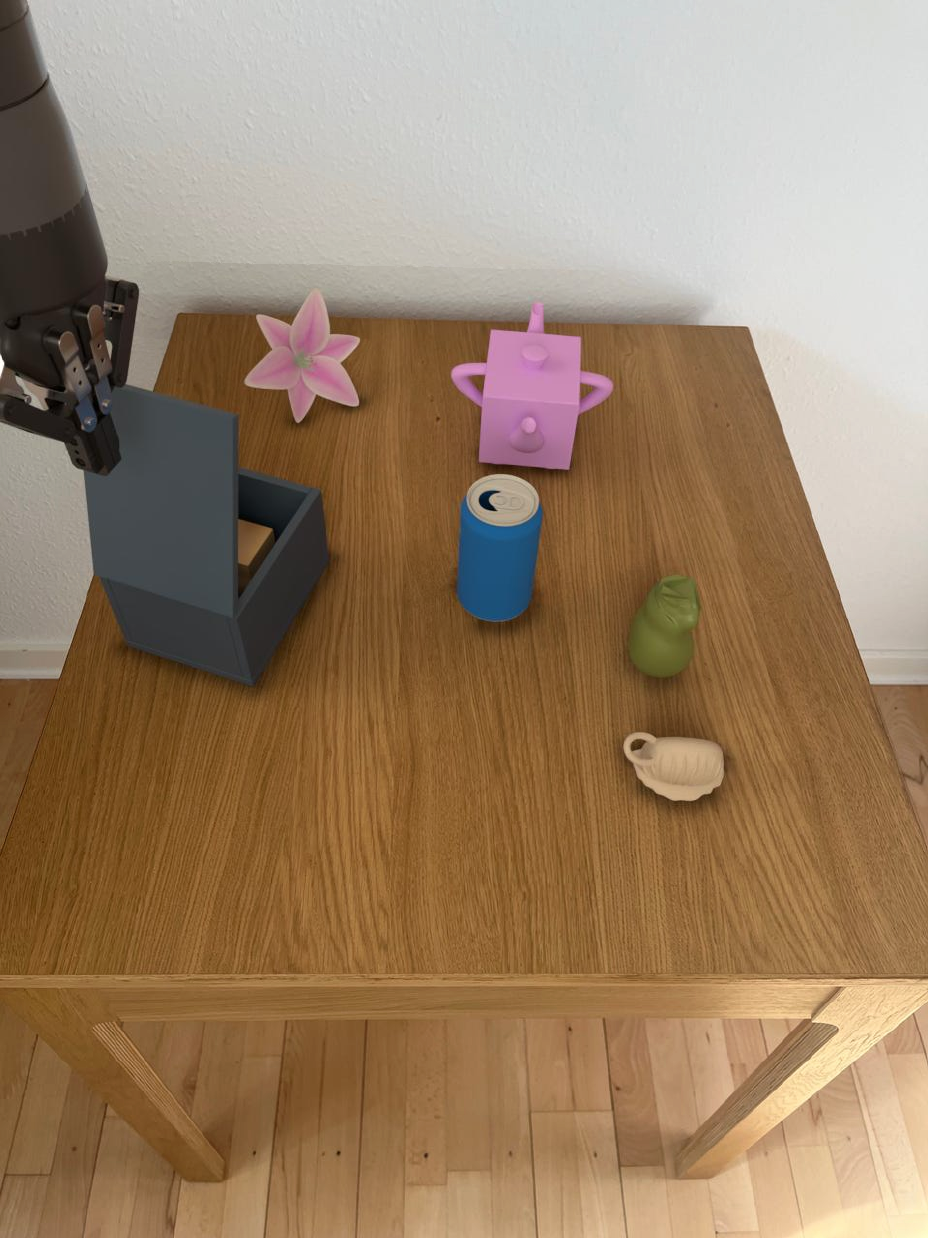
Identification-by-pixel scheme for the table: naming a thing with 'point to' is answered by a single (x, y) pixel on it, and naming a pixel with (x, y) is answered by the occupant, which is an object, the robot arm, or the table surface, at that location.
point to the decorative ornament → (677, 765)
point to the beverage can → (498, 547)
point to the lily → (305, 358)
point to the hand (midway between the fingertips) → (101, 465)
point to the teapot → (530, 395)
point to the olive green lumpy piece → (665, 627)
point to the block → (252, 550)
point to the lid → (169, 501)
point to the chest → (262, 606)
